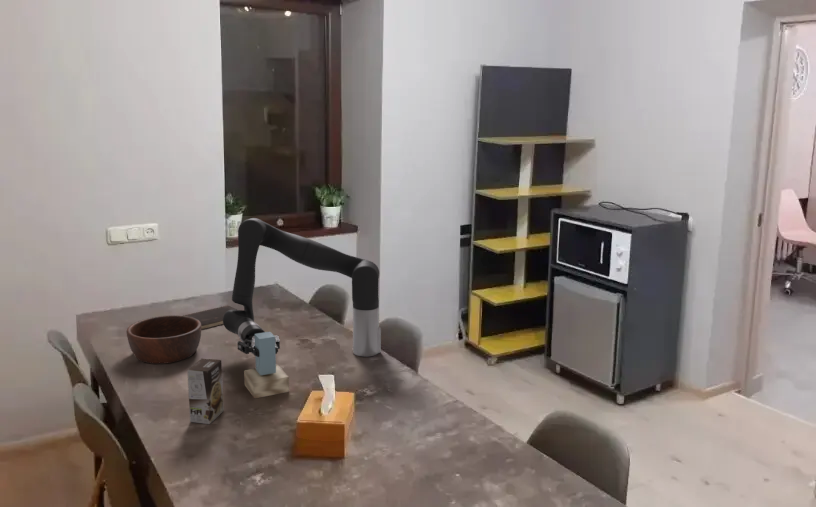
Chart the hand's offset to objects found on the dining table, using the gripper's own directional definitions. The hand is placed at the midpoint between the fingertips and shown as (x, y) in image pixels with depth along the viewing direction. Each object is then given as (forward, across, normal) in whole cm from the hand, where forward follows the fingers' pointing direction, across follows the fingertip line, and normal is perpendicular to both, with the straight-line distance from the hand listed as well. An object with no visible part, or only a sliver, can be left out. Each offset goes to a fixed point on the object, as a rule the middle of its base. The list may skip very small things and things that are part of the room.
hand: (267, 352), depth 219 cm
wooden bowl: (-46, -23, +13) cm, 53 cm away
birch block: (-2, 0, +13) cm, 13 cm away
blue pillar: (-2, 0, +7) cm, 7 cm away
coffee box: (+9, -21, +13) cm, 26 cm away
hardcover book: (-76, 0, +14) cm, 77 cm away
